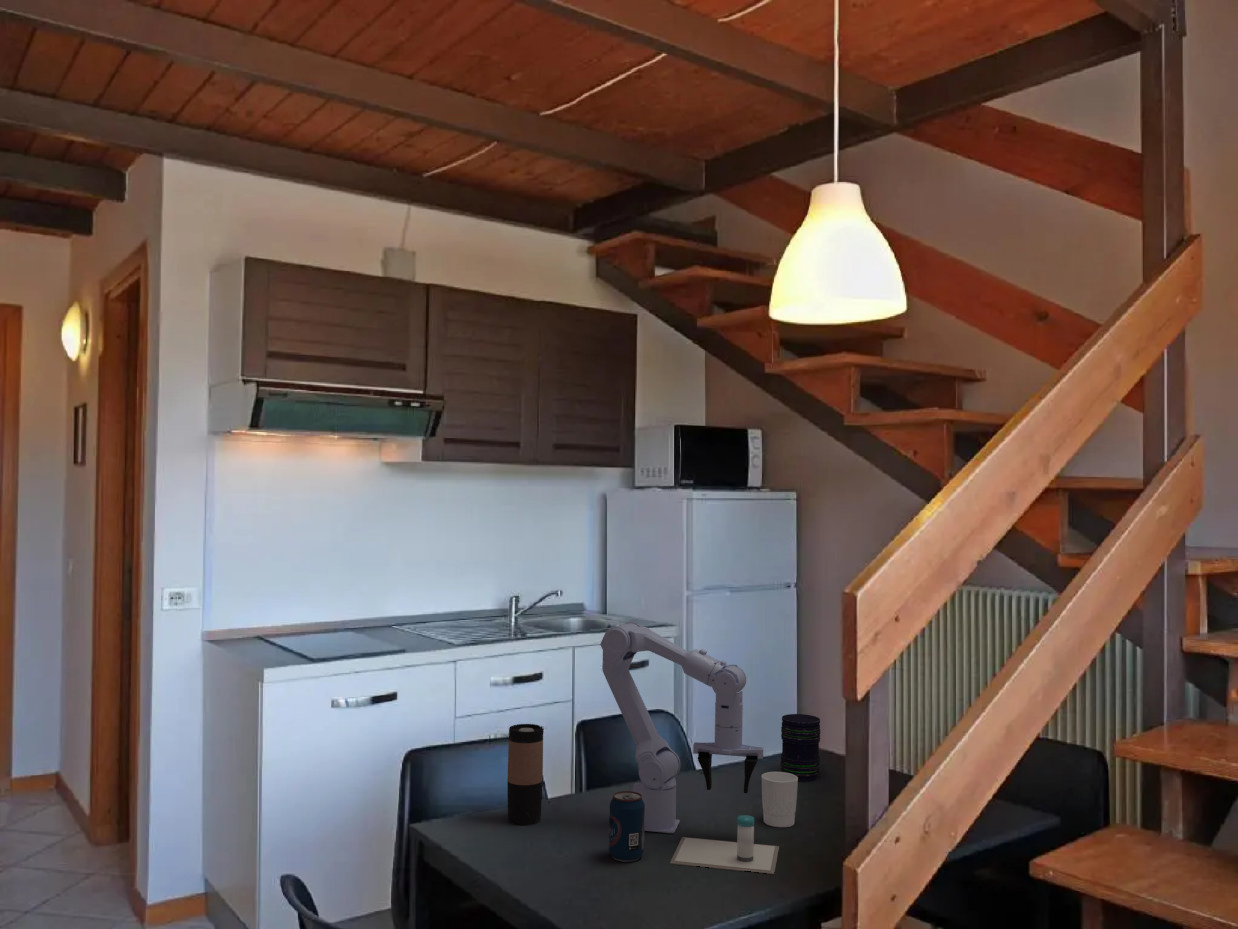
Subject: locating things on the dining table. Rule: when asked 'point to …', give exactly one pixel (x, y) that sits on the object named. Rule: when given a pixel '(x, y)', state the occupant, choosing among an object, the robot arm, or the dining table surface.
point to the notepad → (724, 855)
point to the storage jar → (801, 746)
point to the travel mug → (525, 774)
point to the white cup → (779, 798)
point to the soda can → (626, 826)
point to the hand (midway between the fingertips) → (727, 790)
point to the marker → (745, 838)
